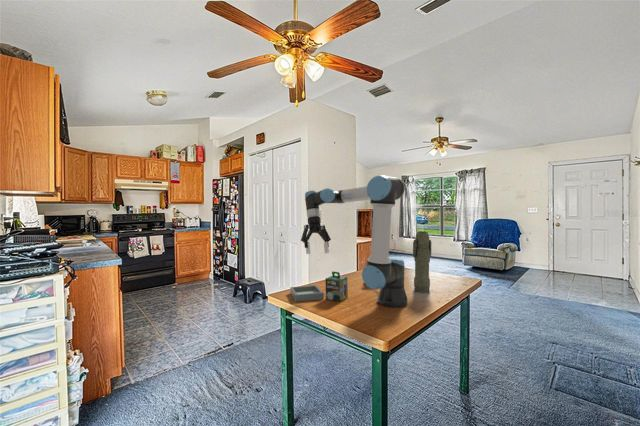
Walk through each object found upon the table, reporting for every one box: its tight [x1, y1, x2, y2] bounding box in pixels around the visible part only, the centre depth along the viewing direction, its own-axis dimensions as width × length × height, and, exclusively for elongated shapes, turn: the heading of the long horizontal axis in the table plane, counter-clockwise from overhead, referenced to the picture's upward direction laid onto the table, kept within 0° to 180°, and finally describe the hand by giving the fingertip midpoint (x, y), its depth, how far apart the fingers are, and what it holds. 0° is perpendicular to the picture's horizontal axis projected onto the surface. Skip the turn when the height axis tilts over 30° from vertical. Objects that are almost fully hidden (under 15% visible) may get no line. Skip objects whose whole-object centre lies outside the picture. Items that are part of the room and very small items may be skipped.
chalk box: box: [325, 271, 349, 303], centre depth 159 cm, size 9×9×15 cm
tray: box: [290, 284, 325, 303], centre depth 163 cm, size 15×15×4 cm
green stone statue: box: [412, 230, 432, 293], centre depth 174 cm, size 9×12×35 cm
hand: (317, 253), depth 166 cm, fingers open, 13 cm apart
